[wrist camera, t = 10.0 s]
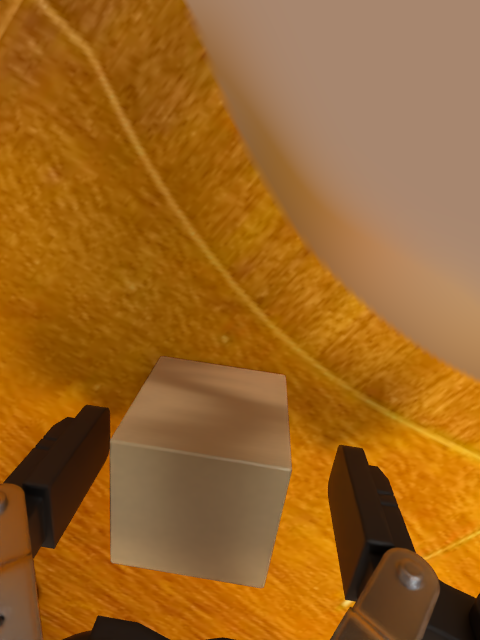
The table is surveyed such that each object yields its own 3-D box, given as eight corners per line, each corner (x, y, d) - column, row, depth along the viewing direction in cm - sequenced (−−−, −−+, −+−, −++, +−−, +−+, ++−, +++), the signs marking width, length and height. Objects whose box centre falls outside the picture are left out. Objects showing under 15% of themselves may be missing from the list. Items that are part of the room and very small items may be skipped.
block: (155, 453, 15) (109, 563, 11) (160, 354, 13) (108, 440, 9) (266, 471, 15) (264, 590, 11) (286, 374, 13) (292, 470, 9)
